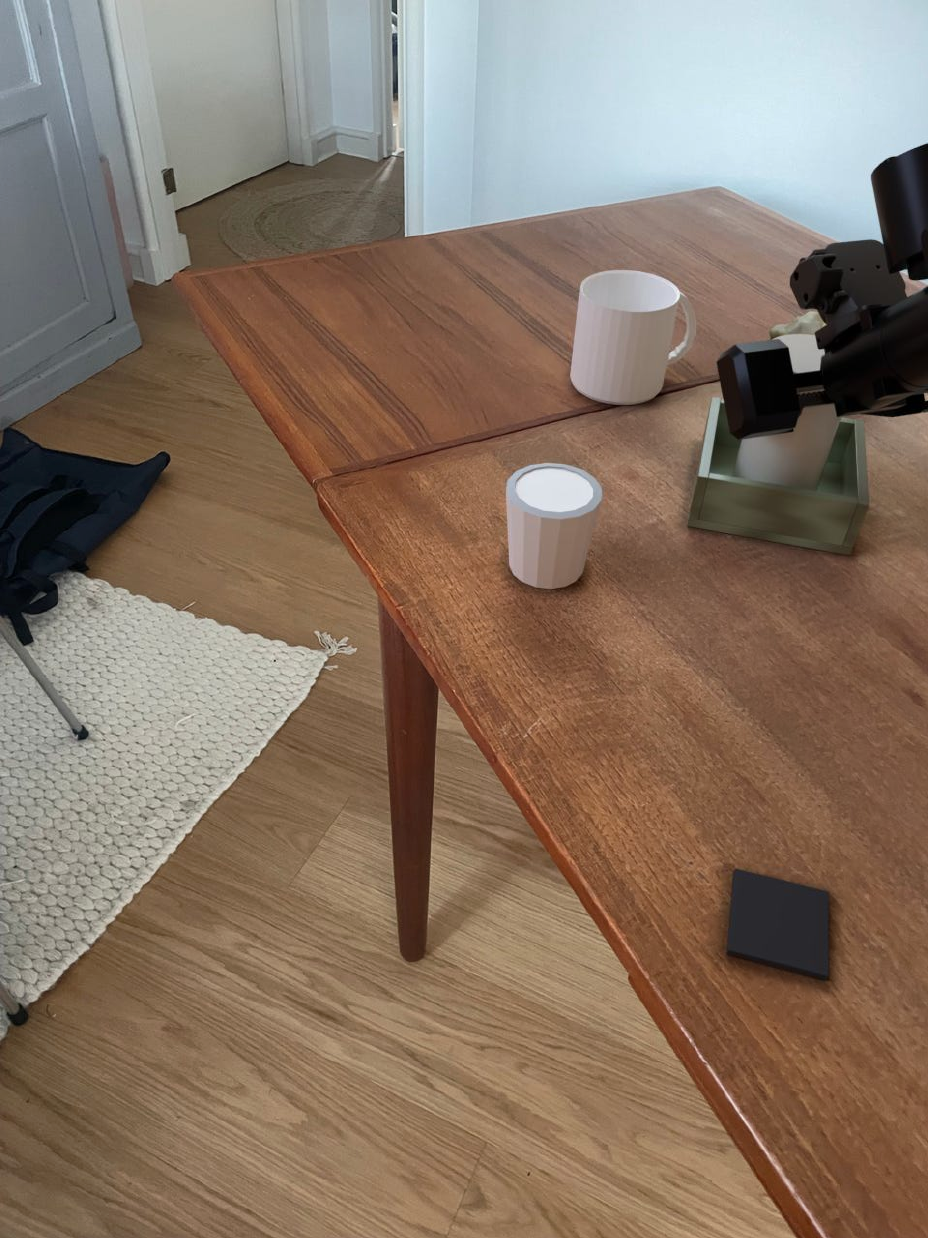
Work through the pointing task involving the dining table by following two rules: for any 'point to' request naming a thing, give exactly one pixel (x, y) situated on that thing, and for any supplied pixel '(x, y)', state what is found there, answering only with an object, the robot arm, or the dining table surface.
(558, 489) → the faceted white cup
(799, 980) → the dining table surface
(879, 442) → the dining table surface
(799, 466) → the white cylinder
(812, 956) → the coaster
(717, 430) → the wooden box
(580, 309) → the mug
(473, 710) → the dining table surface
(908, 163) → the robot arm
